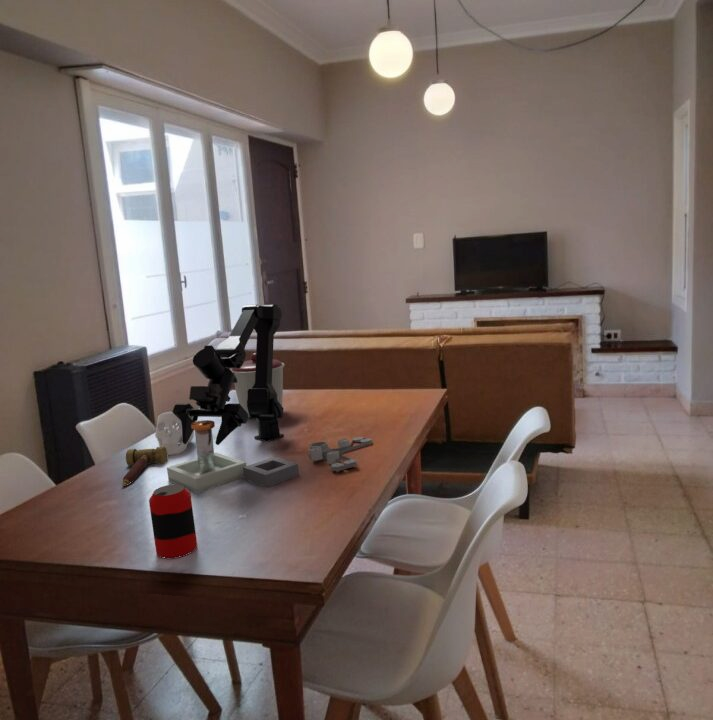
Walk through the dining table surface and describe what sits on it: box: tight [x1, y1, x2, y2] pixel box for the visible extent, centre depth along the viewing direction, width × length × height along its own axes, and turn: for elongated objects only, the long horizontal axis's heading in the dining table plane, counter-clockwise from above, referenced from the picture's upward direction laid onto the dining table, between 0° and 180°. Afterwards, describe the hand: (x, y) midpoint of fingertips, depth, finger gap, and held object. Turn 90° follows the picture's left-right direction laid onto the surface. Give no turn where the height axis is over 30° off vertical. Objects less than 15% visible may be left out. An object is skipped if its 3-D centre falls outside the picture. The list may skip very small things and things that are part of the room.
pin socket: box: [243, 456, 300, 488], centre depth 165 cm, size 10×10×3 cm
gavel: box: [121, 446, 168, 487], centre depth 177 cm, size 21×5×10 cm
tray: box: [166, 452, 247, 494], centre depth 168 cm, size 14×14×4 cm
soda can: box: [148, 484, 198, 559], centre depth 128 cm, size 8×8×12 cm
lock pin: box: [191, 419, 216, 475], centre depth 167 cm, size 6×6×13 cm
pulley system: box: [307, 436, 373, 473], centre depth 178 cm, size 27×5×15 cm
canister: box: [229, 352, 285, 419], centre depth 226 cm, size 18×18×21 cm
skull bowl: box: [154, 411, 195, 456], centre depth 197 cm, size 10×14×12 cm
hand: (200, 443), depth 165 cm, fingers open, 9 cm apart
